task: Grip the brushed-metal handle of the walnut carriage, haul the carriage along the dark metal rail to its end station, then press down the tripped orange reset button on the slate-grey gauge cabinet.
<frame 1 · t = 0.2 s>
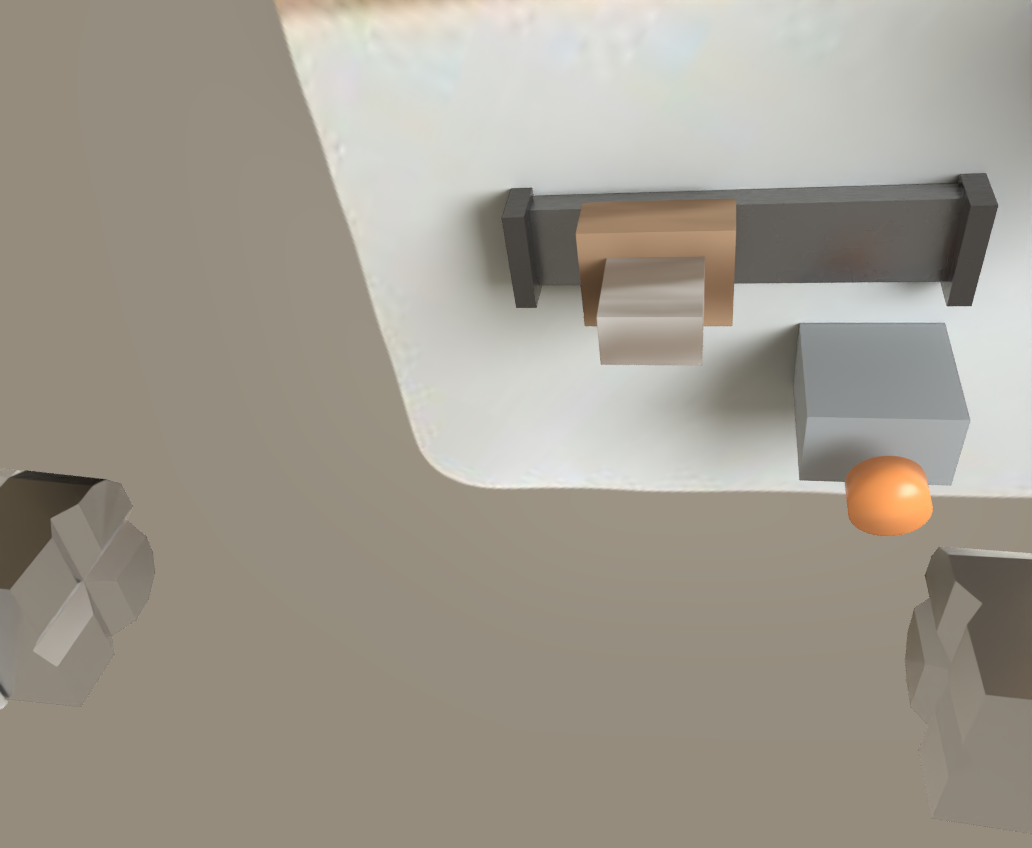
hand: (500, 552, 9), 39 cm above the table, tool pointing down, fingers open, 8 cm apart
carriage: (654, 292, 47), point 6 cm above the table, slide at 0.0 cm
gauge cabinet: (865, 356, 55), on the table
reset button: (887, 496, 47), point 11 cm above the table, slide at 2.0 cm
rail: (734, 230, 50), on the table
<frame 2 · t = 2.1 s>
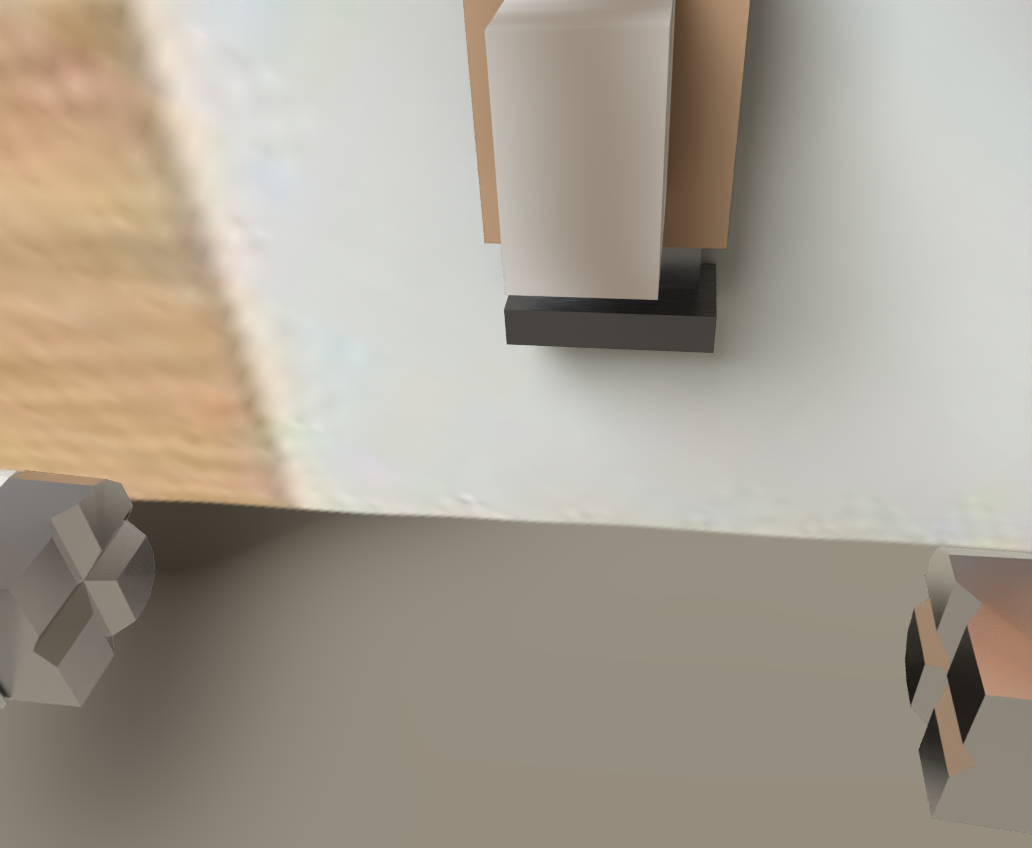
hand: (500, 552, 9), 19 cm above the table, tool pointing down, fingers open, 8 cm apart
carriage: (598, 98, 19), point 6 cm above the table, slide at 0.0 cm
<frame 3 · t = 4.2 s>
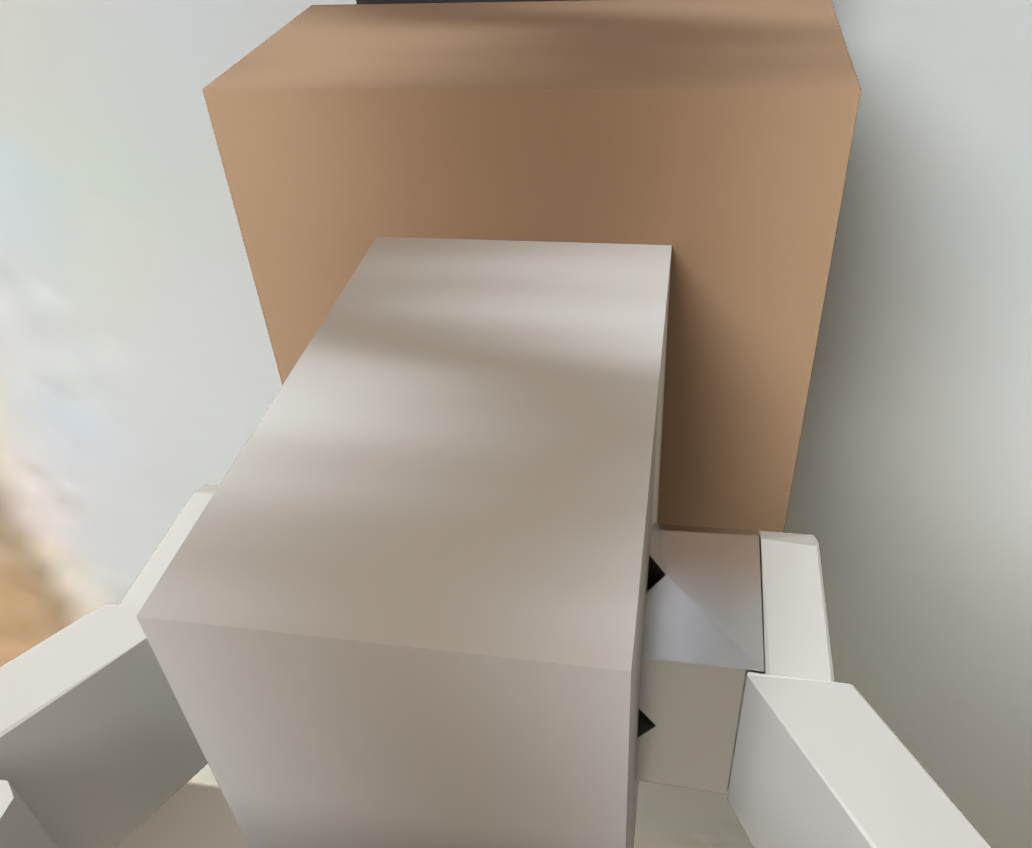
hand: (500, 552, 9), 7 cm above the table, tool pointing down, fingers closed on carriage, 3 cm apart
carriage: (517, 492, 10), point 6 cm above the table, slide at 0.0 cm, touching gripper
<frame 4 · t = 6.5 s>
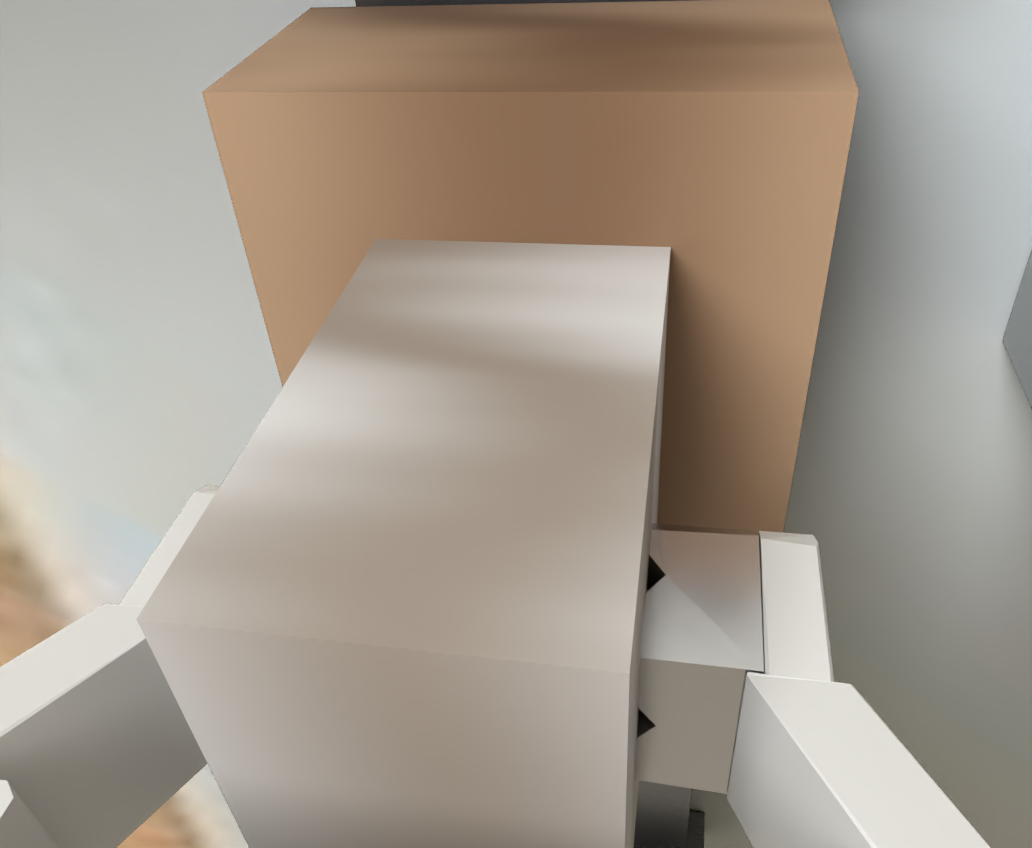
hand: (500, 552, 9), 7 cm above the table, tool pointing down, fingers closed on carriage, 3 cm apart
carriage: (516, 493, 10), point 6 cm above the table, slide at 9.4 cm, touching gripper
rail: (585, 498, 18), on the table
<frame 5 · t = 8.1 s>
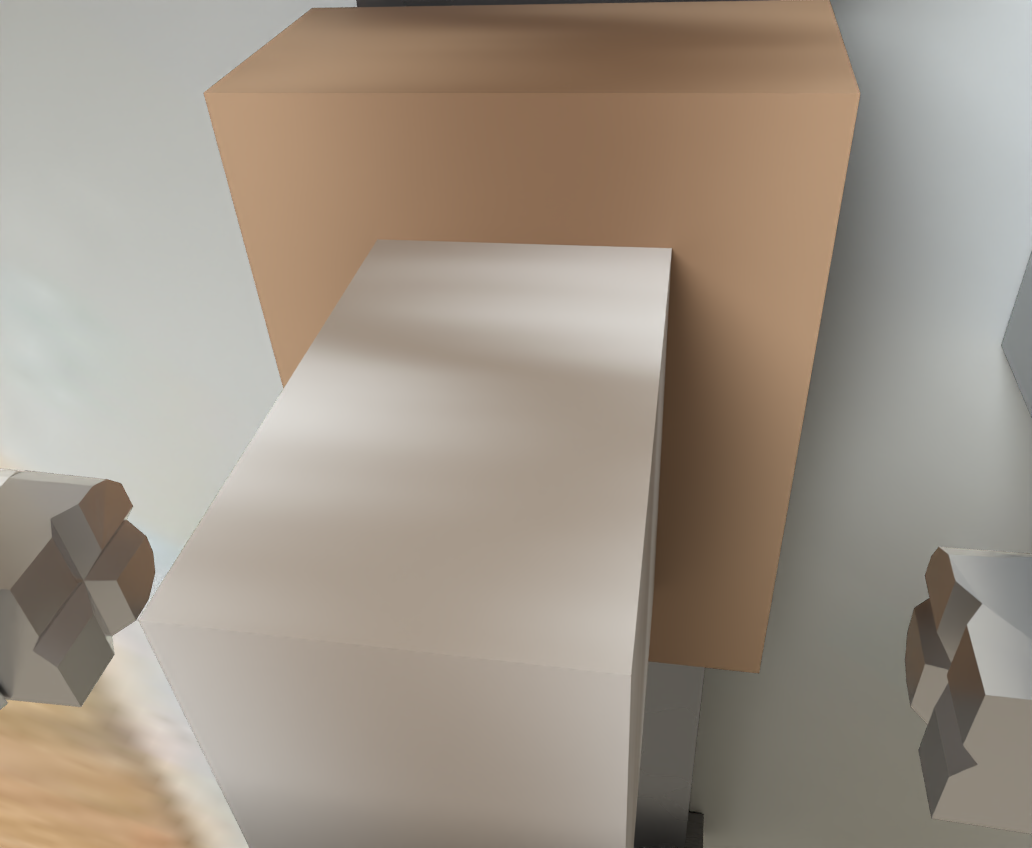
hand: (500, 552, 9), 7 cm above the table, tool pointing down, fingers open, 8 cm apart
carriage: (517, 494, 10), point 6 cm above the table, slide at 9.5 cm
rail: (585, 500, 18), on the table
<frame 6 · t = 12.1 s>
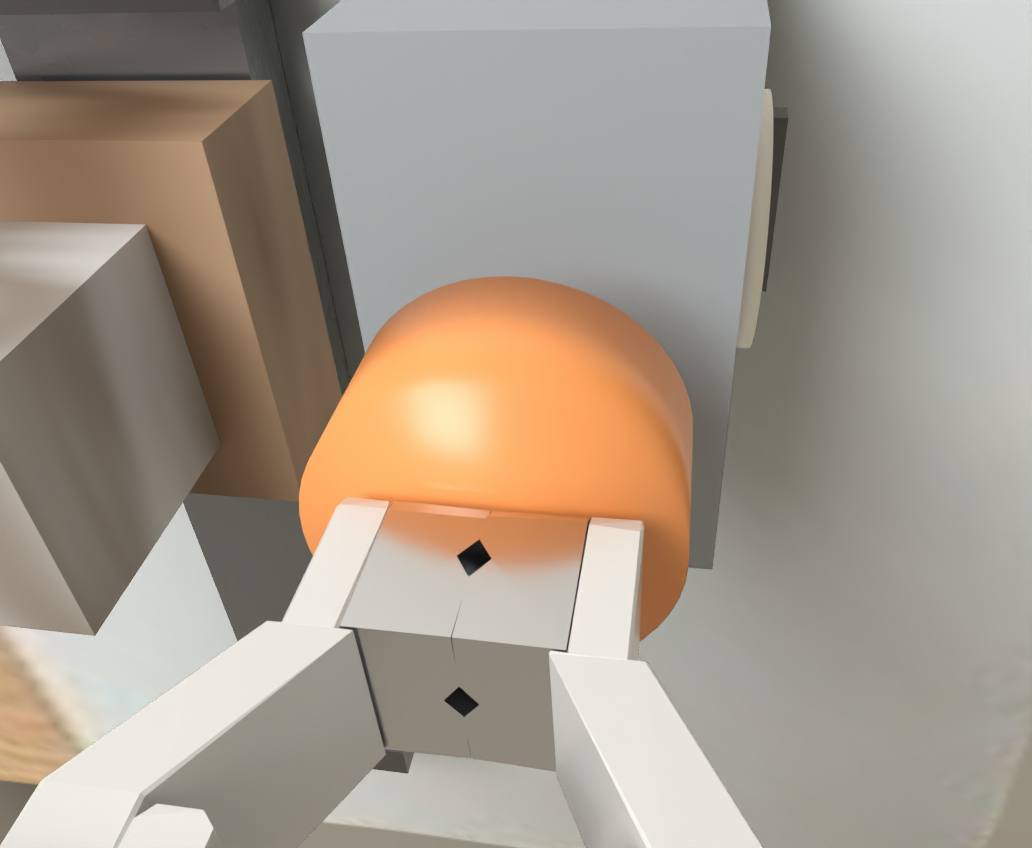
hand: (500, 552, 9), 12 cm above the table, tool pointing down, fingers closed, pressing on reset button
carriage: (88, 370, 17), point 6 cm above the table, slide at 9.5 cm
gauge cabinet: (601, 124, 18), on the table
reset button: (506, 481, 10), point 11 cm above the table, slide at 1.5 cm, touching gripper
rail: (270, 414, 25), on the table
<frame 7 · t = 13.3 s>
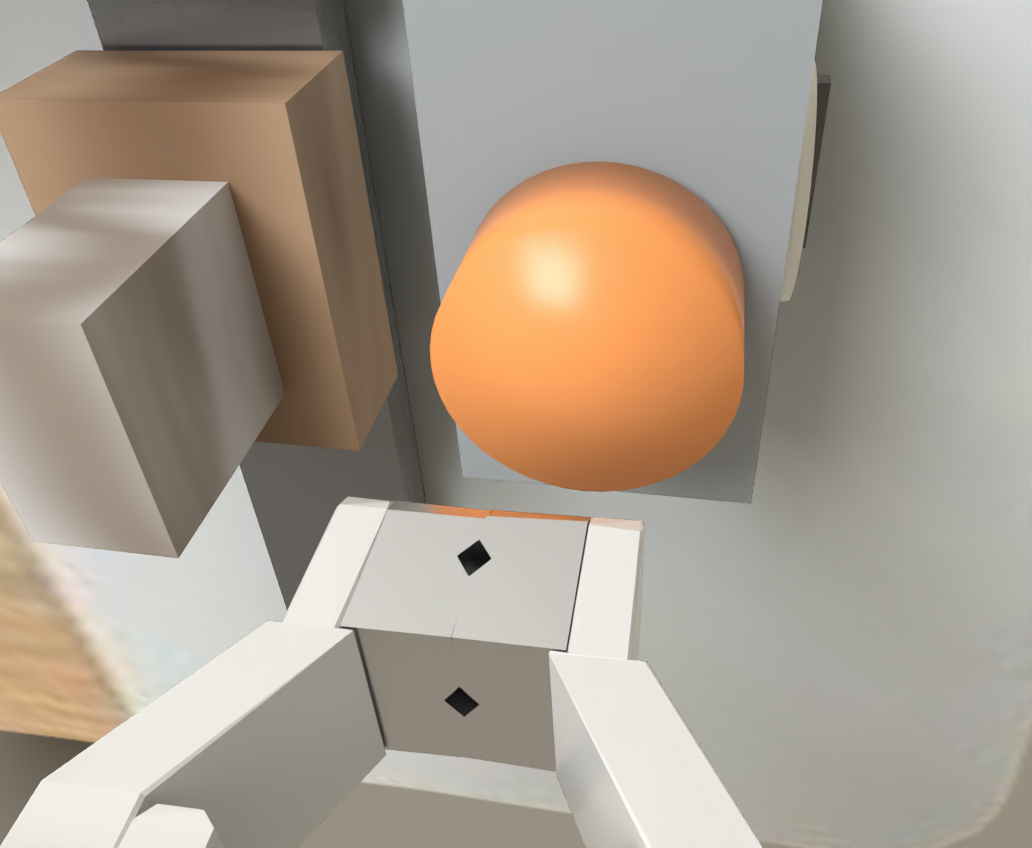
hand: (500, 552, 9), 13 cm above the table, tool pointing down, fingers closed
carriage: (169, 318, 18), point 6 cm above the table, slide at 9.5 cm
gauge cabinet: (648, 97, 19), on the table
reset button: (592, 332, 12), point 9 cm above the table, slide at 0.0 cm
rail: (322, 375, 26), on the table
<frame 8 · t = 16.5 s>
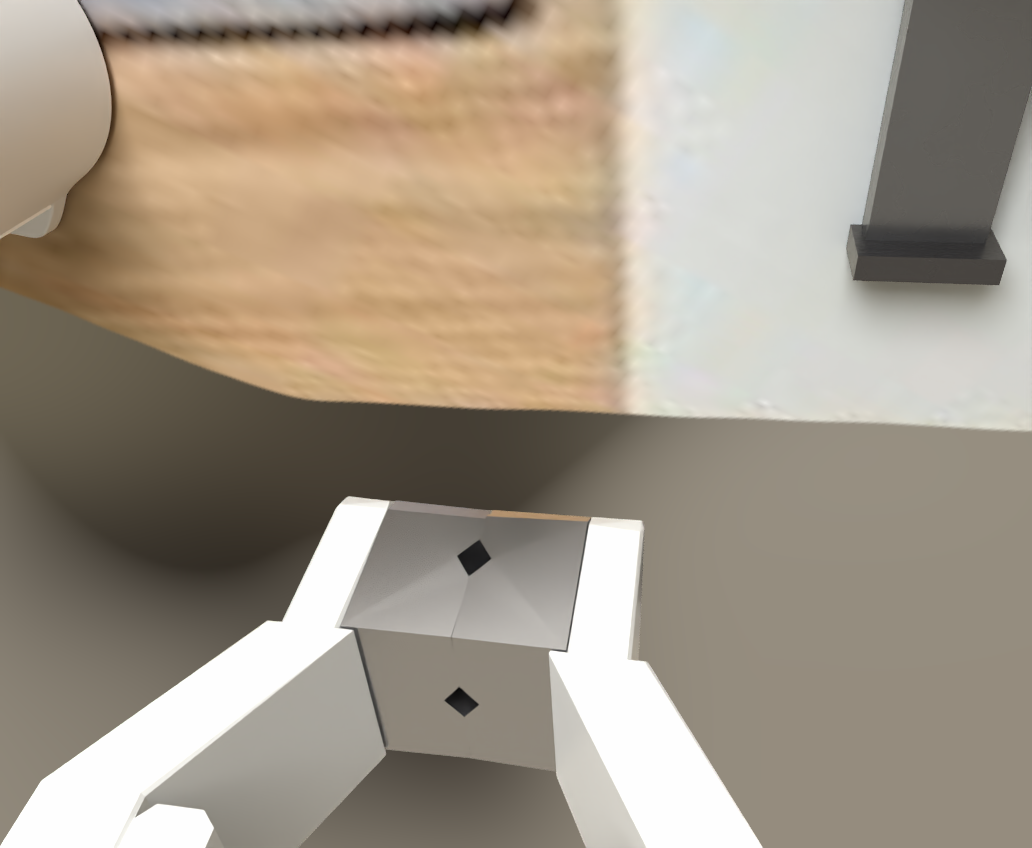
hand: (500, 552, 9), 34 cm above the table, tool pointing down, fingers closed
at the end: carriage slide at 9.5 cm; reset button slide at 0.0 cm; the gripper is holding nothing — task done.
